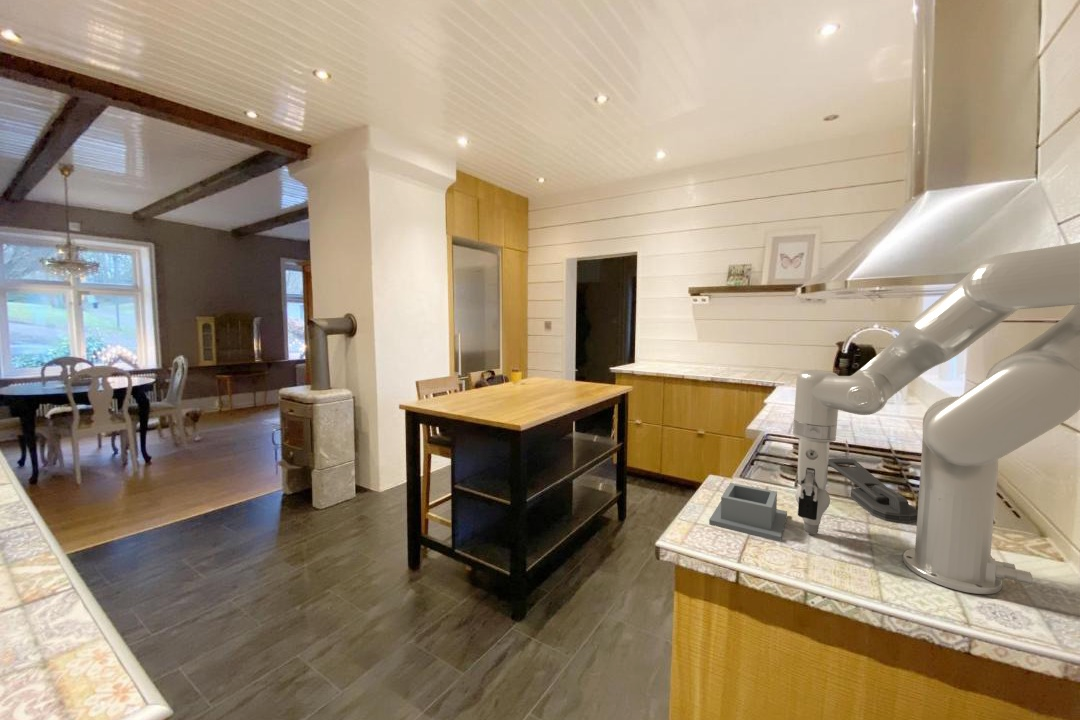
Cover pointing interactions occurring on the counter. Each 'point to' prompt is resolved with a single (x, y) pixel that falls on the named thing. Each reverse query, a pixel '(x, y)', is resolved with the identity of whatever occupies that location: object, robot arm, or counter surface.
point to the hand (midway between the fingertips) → (808, 508)
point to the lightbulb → (823, 504)
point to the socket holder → (750, 512)
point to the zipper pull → (875, 494)
